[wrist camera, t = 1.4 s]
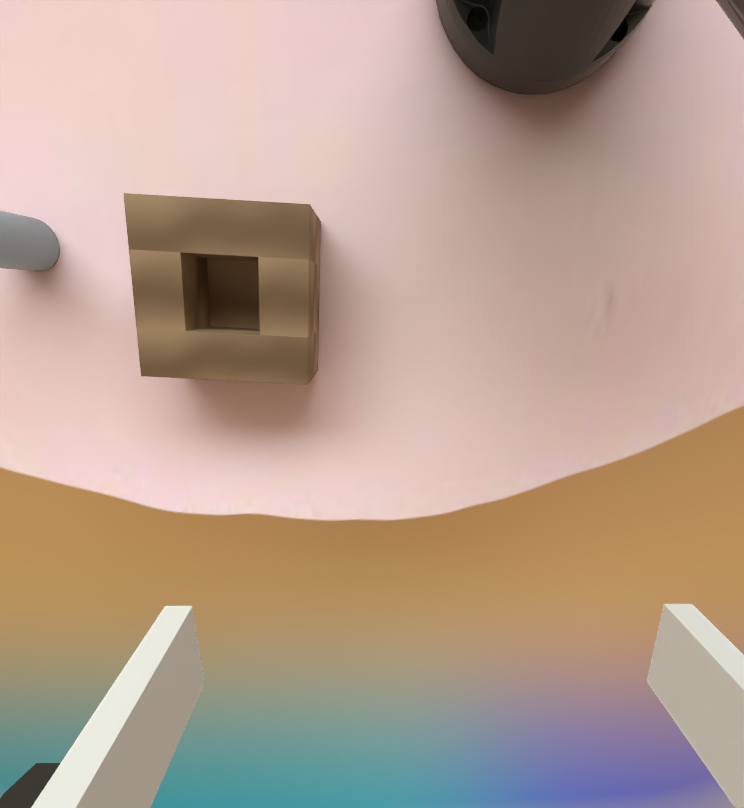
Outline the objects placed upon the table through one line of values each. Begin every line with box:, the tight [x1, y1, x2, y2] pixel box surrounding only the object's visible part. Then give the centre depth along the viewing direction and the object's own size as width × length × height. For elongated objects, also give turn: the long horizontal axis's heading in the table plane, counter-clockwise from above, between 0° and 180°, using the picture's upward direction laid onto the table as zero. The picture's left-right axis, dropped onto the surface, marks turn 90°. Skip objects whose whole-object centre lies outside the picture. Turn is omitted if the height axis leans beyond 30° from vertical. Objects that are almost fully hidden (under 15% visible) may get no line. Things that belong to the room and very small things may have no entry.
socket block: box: [124, 193, 321, 384], centre depth 30 cm, size 12×12×6 cm
